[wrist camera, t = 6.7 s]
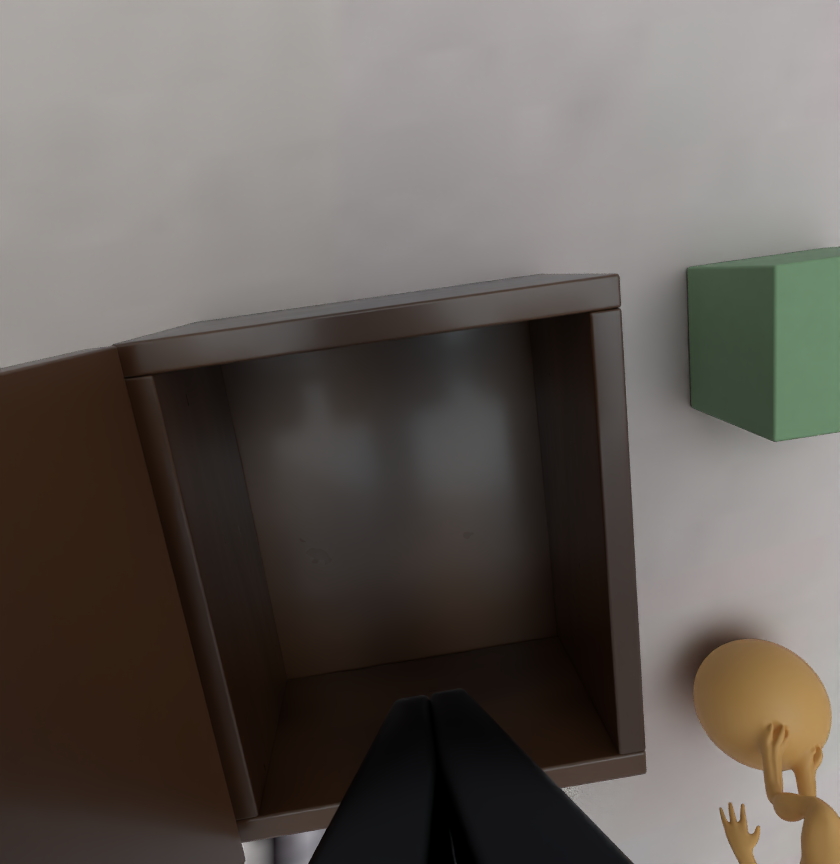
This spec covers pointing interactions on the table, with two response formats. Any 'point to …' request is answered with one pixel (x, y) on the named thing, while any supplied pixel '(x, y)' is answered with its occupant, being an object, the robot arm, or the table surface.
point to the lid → (95, 639)
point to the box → (399, 527)
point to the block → (768, 342)
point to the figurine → (770, 737)
